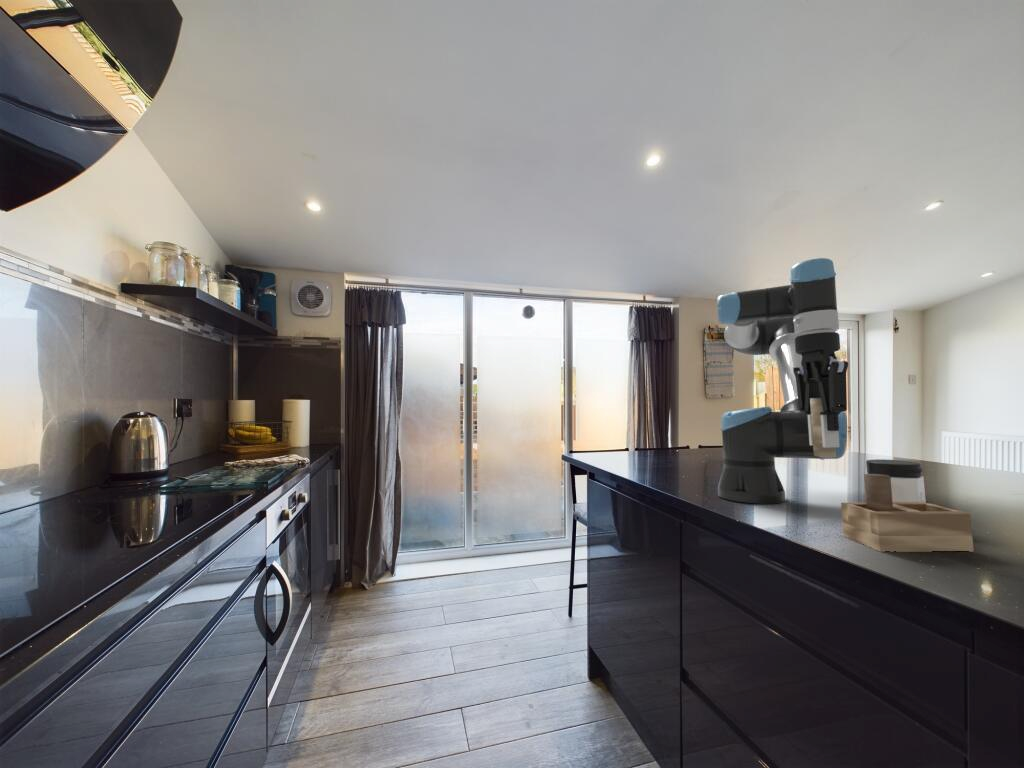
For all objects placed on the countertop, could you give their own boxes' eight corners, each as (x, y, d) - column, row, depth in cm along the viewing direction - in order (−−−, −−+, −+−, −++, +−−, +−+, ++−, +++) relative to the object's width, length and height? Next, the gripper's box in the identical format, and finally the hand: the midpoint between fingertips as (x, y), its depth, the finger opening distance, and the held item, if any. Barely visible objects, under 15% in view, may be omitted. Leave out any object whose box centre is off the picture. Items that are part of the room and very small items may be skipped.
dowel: (809, 455, 85) (805, 398, 86) (827, 454, 85) (823, 397, 86) (821, 457, 82) (817, 398, 83) (840, 456, 82) (835, 397, 82)
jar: (919, 531, 75) (914, 466, 76) (863, 521, 82) (859, 461, 83) (932, 522, 80) (926, 461, 81) (878, 514, 87) (874, 458, 88)
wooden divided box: (843, 536, 73) (840, 502, 74) (926, 536, 72) (923, 502, 73) (880, 551, 65) (877, 513, 66) (973, 551, 64) (970, 513, 65)
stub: (862, 525, 71) (858, 473, 72) (883, 525, 71) (879, 473, 71) (878, 531, 68) (874, 477, 68) (900, 531, 67) (896, 476, 68)
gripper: (775, 341, 93) (781, 442, 92) (824, 327, 77) (833, 450, 76) (809, 339, 93) (816, 442, 92) (866, 325, 76) (876, 450, 75)
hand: (824, 445), depth 84 cm, fingers closed on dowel, 3 cm apart
